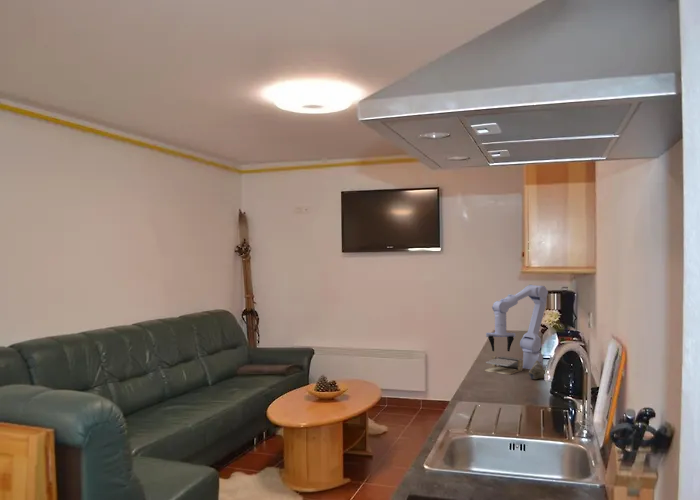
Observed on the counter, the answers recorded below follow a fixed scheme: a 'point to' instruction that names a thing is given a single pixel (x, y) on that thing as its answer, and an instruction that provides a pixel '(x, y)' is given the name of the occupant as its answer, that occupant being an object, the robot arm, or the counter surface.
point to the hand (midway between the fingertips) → (500, 351)
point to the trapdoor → (505, 361)
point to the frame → (505, 370)
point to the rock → (537, 371)
